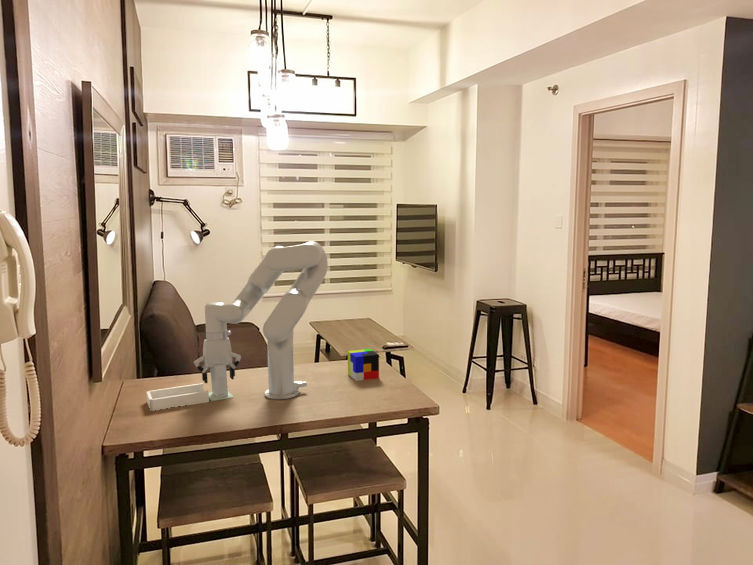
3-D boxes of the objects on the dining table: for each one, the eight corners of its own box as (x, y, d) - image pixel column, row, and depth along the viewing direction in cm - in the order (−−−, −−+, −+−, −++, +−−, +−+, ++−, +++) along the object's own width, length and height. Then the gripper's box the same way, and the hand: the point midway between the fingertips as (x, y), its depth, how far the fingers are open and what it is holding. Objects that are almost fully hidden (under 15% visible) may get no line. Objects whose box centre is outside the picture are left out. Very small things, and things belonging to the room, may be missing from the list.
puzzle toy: (355, 381, 238) (355, 357, 236) (348, 374, 247) (347, 351, 246) (379, 378, 241) (378, 354, 240) (370, 371, 251) (370, 348, 249)
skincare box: (228, 395, 220) (227, 364, 219) (217, 398, 218) (215, 366, 216) (222, 391, 225) (220, 360, 224) (210, 393, 223) (209, 362, 221)
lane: (203, 393, 224) (202, 383, 224) (209, 401, 215) (208, 391, 214) (146, 401, 215) (146, 391, 215) (150, 411, 206) (149, 400, 205)
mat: (227, 389, 228) (227, 389, 228) (233, 397, 219) (233, 396, 219) (205, 393, 224) (205, 392, 224) (211, 401, 215) (211, 400, 215)
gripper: (237, 331, 226) (239, 374, 228) (190, 336, 218) (193, 381, 220) (242, 335, 219) (244, 379, 221) (194, 340, 211) (197, 386, 214)
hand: (218, 380), depth 221 cm, fingers open, 9 cm apart
